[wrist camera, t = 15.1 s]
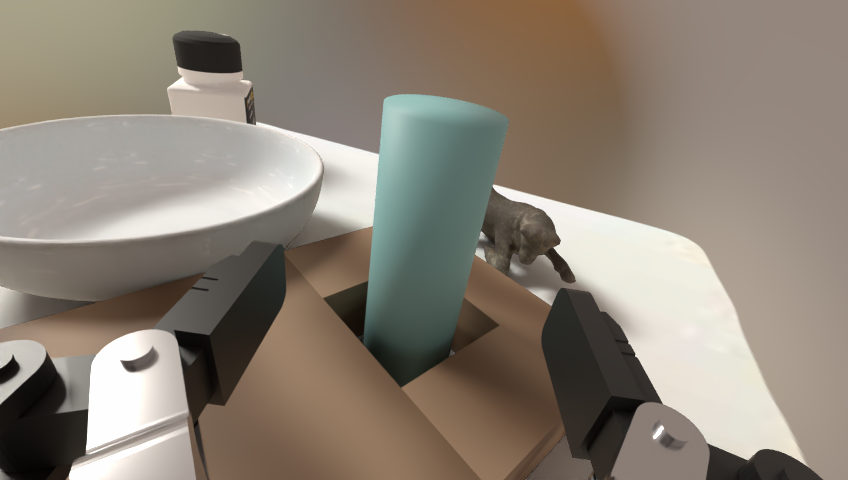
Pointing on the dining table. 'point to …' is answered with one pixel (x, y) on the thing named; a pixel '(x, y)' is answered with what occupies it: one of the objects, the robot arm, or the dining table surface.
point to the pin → (426, 225)
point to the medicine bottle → (210, 78)
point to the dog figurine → (520, 235)
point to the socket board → (356, 379)
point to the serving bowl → (143, 200)
